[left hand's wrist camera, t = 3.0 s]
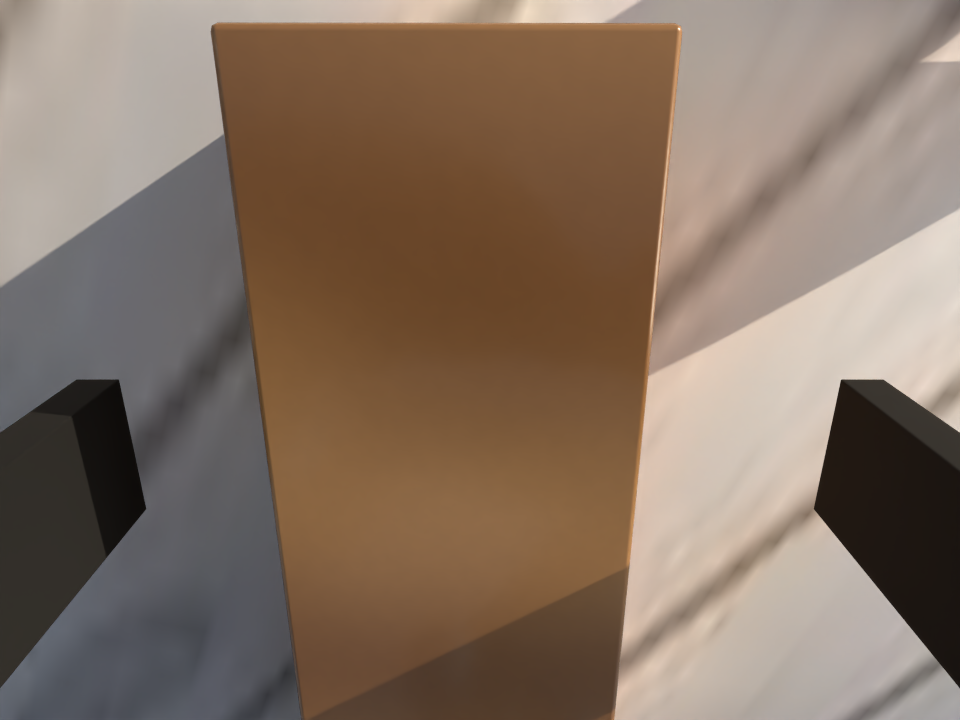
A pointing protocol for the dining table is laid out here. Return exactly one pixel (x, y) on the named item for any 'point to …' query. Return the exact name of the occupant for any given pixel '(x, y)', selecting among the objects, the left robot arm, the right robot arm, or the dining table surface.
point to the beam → (451, 347)
